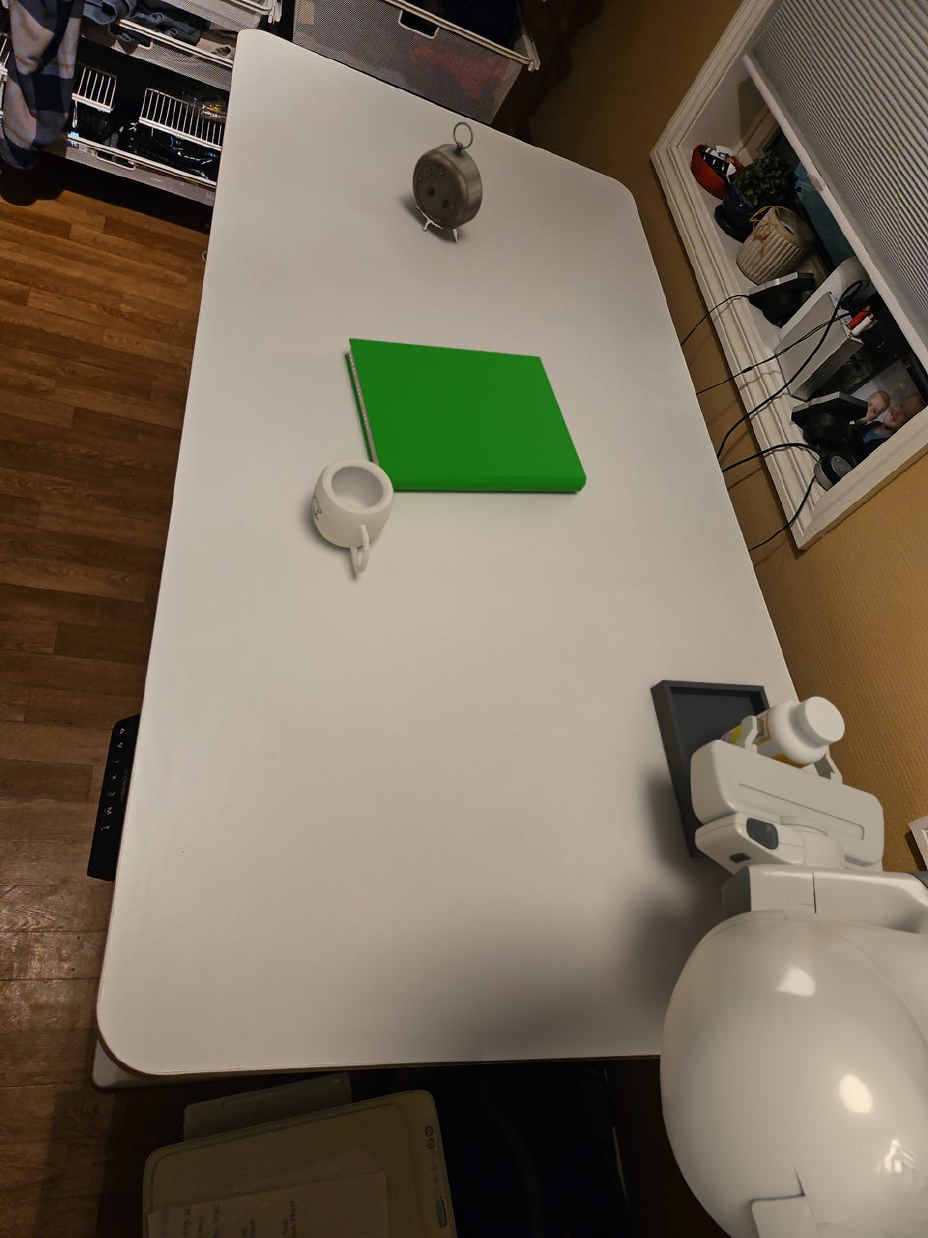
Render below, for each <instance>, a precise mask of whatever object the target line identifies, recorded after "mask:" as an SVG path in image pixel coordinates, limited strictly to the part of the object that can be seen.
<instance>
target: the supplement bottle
mask: <svg viewBox="0 0 928 1238" xmlns="http://www.w3.org/2000/svg"><path fill="white" fill-rule="evenodd" d="M755 717H757V718H760V719H762V720H764V725H763V726H764V729H765V734H763V735H761V736H758V738H756V739H754V740H753V742H752V744H755V745H756V746H757V754H760V755H763V756H766V757H768V758H771V759H774V760H777V761H780V762H782V763H785V764H788V765H791V766H794V767H796V768H799V769H803V768H806V767H808V766H810V765H812V764H813V763H815V762H817V761H818V760H820V759H821V758H822V757H823V756H824V755H825V754H826V752H827V749H828V745H829V746H830V745H832V744H834V743H836V742H838V741H840V740H842V738H843V737H844V734H845V729H846V727H845V722H844V719H843V716H842V714H841V713H840V711H839V710H838V708H837V707H836V705H834V704H833V702H831V701H829V700H828V699H827V698H825V697H821V696H811V697H809V698H807V699H805V700H802V701H798V700H784V701H780V702H779V703H777V704H775V705H774V706H772V707H770V709H768V710H766V711H765V712H763V713H761V714H759V715H757V716H755ZM740 735H742V729H741V725H739V726H737V727H736V728H734V729H732V730H730V731H729V732H727V733H726V734H725V735H724V736H723V737H722V738H721V741H724V742H726V743H729V744H732V745H734V744H735V742H736V741H737V740H738V738H739V737H740ZM813 765H814V764H813Z"/></svg>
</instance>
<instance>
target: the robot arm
mask: <svg viewBox="0 0 928 1238" xmlns="http://www.w3.org/2000/svg"><path fill="white" fill-rule="evenodd" d="M763 725H764V720H762V719H760V718H757V717H754V716H752V715H750V716H748V717H746V718H744V719H743V720H742V723H741V729H742V735H740V737H739V738H738V740H737V741H736V742H735V744H734V745H732V744H729V743H726V742H724V741H721V740H714V741H712V742H710V743H708V744H706V745H704V746H702V747H701V748H699V749H698V750H697V751H696V752H695V753H694V754H693V756H692V759H691V794H692V803H693V808H694V811H695V814H696V816H697V818H698V819H699V820H700V822H701V823H702V824H704V826H702V827H700V828H699V829H697V830H696V834H695V842H696V846H697V847H698V848H699V849H700V850H701V851H702V852H703V853H705V854H706V855H708V856H709V857H711V858H710V859H712V860H713V861H715V862H716V863H718V864H719V865H721V867H723V868H724V869H725V870H727V871H728V872H729V873H731V874H732V876H730V877H729V879H727V881H726V882H725V883H723V885H722V886H721V887H720V889H719V895H720V900H721V903H722V922H720V923H719V924H717V925H715V927H713V928H712V929H711V930H709V931H708V932H707V933H706V934H705V935H704V936H703V938H701V939H700V941H699V942H698V943H697V944H696V946H695V947H694V949H693V951H692V952H691V954H690V956H689V957H688V959H687V961H686V963H685V964H684V966H683V968H682V971H681V973H680V975H679V977H678V979H677V981H676V984H675V985H674V988H673V991H672V994H671V997H670V1000H669V1003H668V1007H667V1011H666V1014H665V1018H664V1023H663V1030H662V1037H661V1043H660V1061H659V1067H660V1068H659V1083H660V1096H661V1107H662V1108H661V1109H662V1116H663V1123H664V1126H665V1131H666V1135H667V1138H668V1141H669V1144H670V1147H671V1151H672V1153H673V1156H674V1159H675V1161H676V1163H677V1166H678V1167H679V1170H680V1172H681V1175H682V1176H683V1178H684V1180H685V1182H686V1183H687V1185H688V1187H689V1188H690V1190H691V1192H692V1193H693V1195H694V1197H695V1198H696V1199H697V1201H698V1202H699V1203H700V1205H701V1206H702V1208H704V1210H705V1211H706V1212H707V1214H708V1215H709V1216H710V1217H711V1219H713V1220H714V1221H715V1222H716V1223H717V1224H718V1225H719V1226H720V1228H721V1229H722V1230H723V1231H724V1232H725V1233H726V1234H728V1235H729V1236H730V1237H731V1238H928V871H926V870H924V871H923V870H921V871H920V870H901V871H884V868H883V861H882V859H883V856H884V850H885V819H884V810H883V806H882V805H881V802H880V801H879V800H878V798H877V797H876V795H874V794H873V793H872V794H871V793H869V792H867V791H863V790H861V789H858V788H855V787H852V786H849V785H847V784H844V783H843V775H842V774H841V772H840V771H839V768H838V767H837V765H836V764H835V762H834V760H833V758H832V757H831V752H830V745H828V749H827V752H826V754H825V755H824V756H823V757H822V758H821V759H820V760H818V761H817V762H815V763H813V766H814V768H815V770H816V773H817V774H816V773H814V772H810V771H808V770H805V769H803V768H801V769H799V768H796V767H794V766H791V765H788V764H785V763H782V762H780V761H777V760H774V759H771V758H768V757H766V756H763V755H760V754H757V746H756V745H755V744H752V742H753V740H754V739H756V738H758V736H761V735H763V734H765V729H764V726H763Z"/></svg>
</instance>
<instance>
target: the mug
mask: <svg viewBox="0 0 928 1238" xmlns="http://www.w3.org/2000/svg"><path fill="white" fill-rule="evenodd" d="M394 500H395V493H394V490H393V487H392V484H391V481H390V479H389V477H388V476H387V475H386V473H385V472H384V471H383V470H382V469H381V468H380V467H378V466H377V465H375V464H374V463H372V462H370V460H369V459H368V460H367V459H365V458H360V457H355V456H346V457H341V458H337V459H336V460H333V461H332V462H330V463H329V464H328V465H326V466H325V468H324V469H322V471H321V473H320V474H319V476H318V478H317V480H316V483H315V485H314V489H313V494H312V501H311V502H312V503H311V508H312V509H311V510H312V517H313V521H314V524H315V526H316V528H317V530H318V532H319V533H320V535H321V536H322V537H323V539H325V540H326V541H328V542H329V543H331V544H333V545H335V546H337V547H341V548H347V549H348V548H349V549H350V557H351V563H352V566H353V569H354V572H355V573H358V574H363V573H364V572H365V571H366V569H367V567H368V564H369V559H370V550H371V549H370V545H371V543H370V542H371V541H372V540H374V539H375V538H376V537H377V536H378V535H379V534H380V533H381V532H382V530H383V529H384V527H385V526H386V524H387V522H388V520H389V517H390V515H391V512H392V510H393V506H394V505H393V504H394ZM358 547H362V556H361V560H360V561H361V562H360V563H359V557H358Z"/></svg>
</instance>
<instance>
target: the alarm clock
mask: <svg viewBox="0 0 928 1238" xmlns="http://www.w3.org/2000/svg"><path fill="white" fill-rule="evenodd" d="M461 125H463V126H465V127H467V128H468V130H469V132H470V142H469V144H468V145H466V146H464V143H462V142H461V141H460V142H459V141H458V140H457V138H456V137H457V136H456V130H457V129H458V127H459V126H461ZM452 135H453V136H452V137H453V141H454V142H455V144H454V143H444V144H441V145H439V146H437V147H435V148H431V149H429V150H427V151H426V152H423V154H422V155H421V156H420V157H419V158H418V160H417V162H416V163H415V166H414V168H413V174H412V192H413V197H414V200H415V203H416V205H417V206H418V207H419V208H420V210H421V211H422V212H423V213H424V214H425V215H426V216H427V217H428V218H429V219H430V220H432V221H433V222H434V223H435V224H437V225H438V226H440V227H441V228H443V229H445V230H444V231H453V229H456V228H457V229H458V228H460V227H461V226H463V225H465V224H467V223H470V222H471V221H472V220H473V219H475V217H476V216H477V214H478V213H479V211H480V209H481V206H482V202H483V190H484V189H483V181H482V176H481V174H480V171H479V168H478V166H477V164H476V161H475V160H474V159H473V157H472V156H471V155H470V154H469V152H468V151H466V149H468V148H470V147H471V145H472V144H473V141H474V133H473V129H472V127H471V126H470V125H469V123H467V122H466V121H459V122H457V123H456V124H455V125H454V127H453V131H452ZM420 210H419V211H420ZM421 211H420V212H421Z"/></svg>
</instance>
